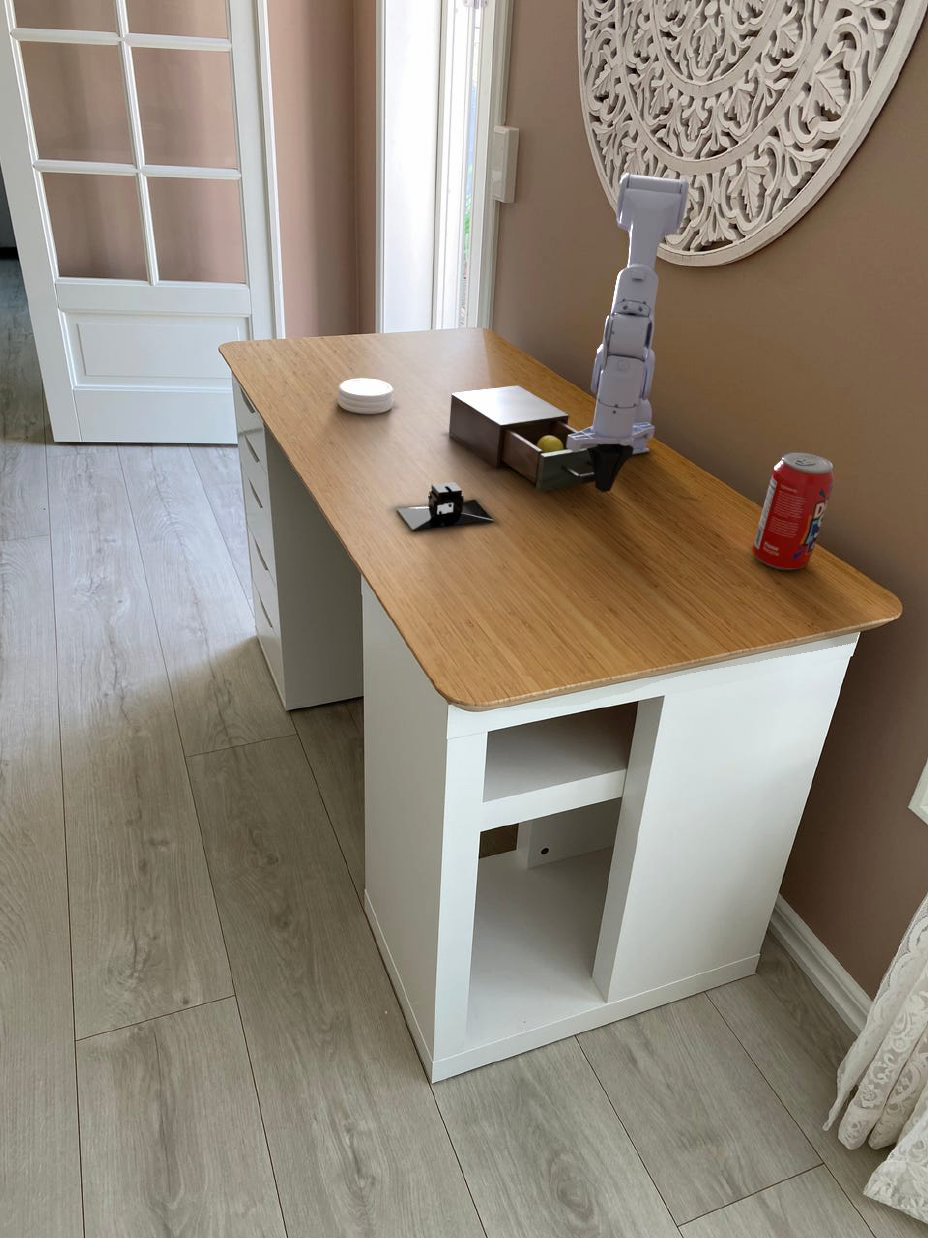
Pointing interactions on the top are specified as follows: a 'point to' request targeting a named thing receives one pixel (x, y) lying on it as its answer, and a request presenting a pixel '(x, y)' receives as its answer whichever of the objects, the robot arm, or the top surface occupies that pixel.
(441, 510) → the black block on plate
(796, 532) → the soda can
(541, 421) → the cabinet
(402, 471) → the top surface
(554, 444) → the lemon
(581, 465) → the drawer
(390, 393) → the coaster
